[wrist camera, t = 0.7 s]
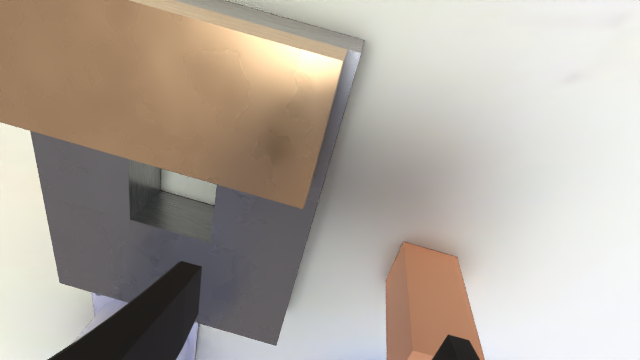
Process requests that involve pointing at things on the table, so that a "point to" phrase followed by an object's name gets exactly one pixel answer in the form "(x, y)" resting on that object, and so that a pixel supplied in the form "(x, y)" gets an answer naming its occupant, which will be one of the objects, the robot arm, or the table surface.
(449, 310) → the light brown rectangular block
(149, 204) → the bracket plate
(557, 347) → the table surface
